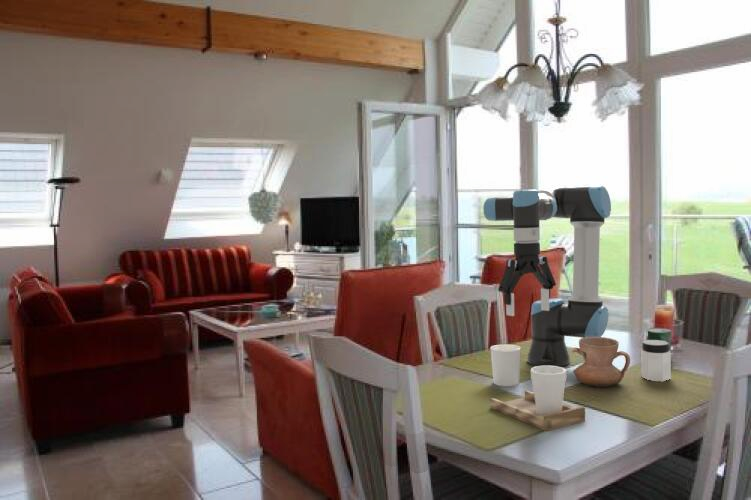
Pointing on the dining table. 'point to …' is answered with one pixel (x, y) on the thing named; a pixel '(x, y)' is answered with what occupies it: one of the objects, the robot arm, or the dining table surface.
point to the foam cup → (548, 388)
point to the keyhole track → (528, 413)
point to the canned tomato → (660, 335)
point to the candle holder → (505, 364)
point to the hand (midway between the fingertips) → (528, 312)
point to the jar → (655, 360)
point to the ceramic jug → (599, 362)
